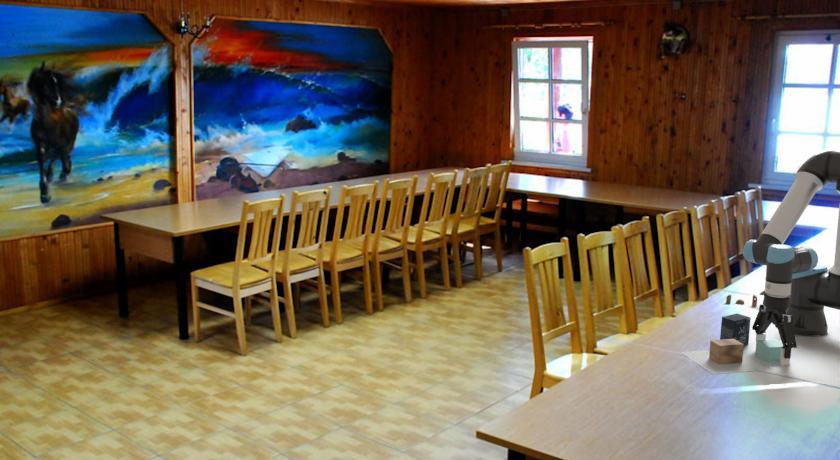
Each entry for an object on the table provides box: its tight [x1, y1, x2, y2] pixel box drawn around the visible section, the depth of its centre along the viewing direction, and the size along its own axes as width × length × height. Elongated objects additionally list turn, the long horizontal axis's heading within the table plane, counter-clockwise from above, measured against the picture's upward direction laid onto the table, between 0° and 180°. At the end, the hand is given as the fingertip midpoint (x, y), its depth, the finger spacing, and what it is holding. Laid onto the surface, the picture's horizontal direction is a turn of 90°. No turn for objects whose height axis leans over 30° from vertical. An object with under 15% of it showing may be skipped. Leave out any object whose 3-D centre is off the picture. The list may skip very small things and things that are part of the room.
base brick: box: [709, 339, 745, 364], centre depth 252 cm, size 8×6×6 cm
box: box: [719, 313, 751, 346], centre depth 268 cm, size 8×6×11 cm
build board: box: [680, 349, 775, 375], centre depth 253 cm, size 20×20×1 cm
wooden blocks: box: [725, 289, 766, 307], centre depth 315 cm, size 30×3×8 cm, turn 62°
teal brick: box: [755, 338, 783, 363], centre depth 255 cm, size 7×7×6 cm
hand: (771, 360), depth 255 cm, fingers open, 12 cm apart
